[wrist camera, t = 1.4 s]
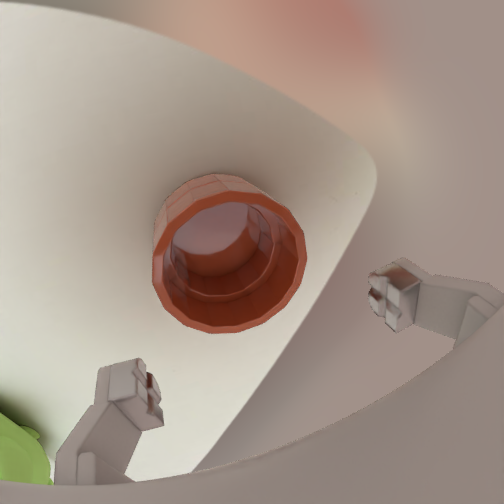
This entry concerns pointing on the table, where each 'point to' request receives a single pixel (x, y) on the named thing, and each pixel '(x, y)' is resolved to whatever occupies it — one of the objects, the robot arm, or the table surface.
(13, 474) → the teapot
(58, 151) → the table surface
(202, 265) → the orange cup
